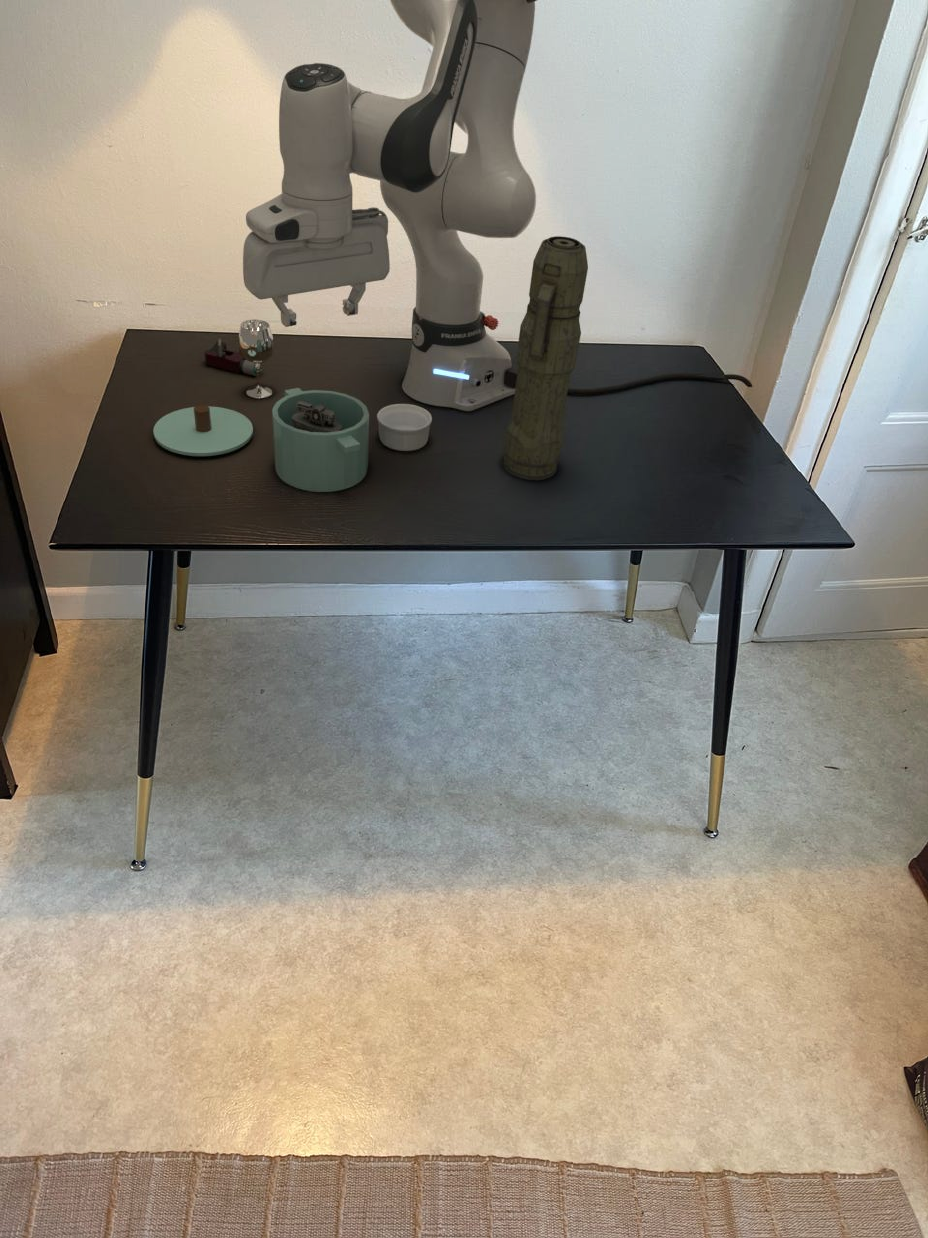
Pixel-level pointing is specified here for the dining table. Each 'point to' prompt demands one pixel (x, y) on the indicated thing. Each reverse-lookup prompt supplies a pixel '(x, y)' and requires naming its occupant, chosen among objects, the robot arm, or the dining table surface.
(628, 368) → the dining table surface
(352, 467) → the pot
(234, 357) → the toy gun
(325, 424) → the lighter
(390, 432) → the ramekin
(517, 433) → the thermos
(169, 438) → the lid
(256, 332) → the wineglass
